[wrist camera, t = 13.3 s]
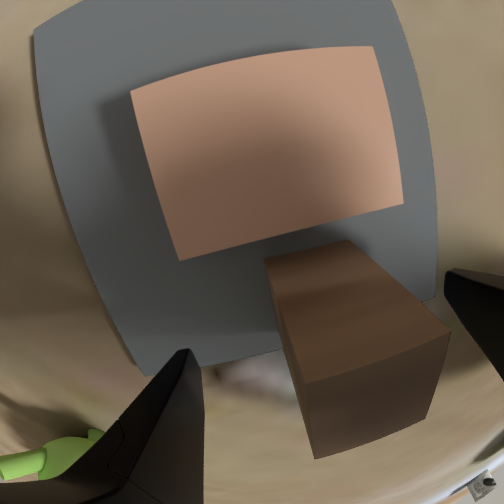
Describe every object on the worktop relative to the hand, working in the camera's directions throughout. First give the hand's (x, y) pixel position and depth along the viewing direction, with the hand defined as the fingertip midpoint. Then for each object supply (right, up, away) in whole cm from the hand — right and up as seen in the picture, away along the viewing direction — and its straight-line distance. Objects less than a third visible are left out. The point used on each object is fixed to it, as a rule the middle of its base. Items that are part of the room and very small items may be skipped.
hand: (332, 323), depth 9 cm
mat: (-3, +6, +1) cm, 6 cm away
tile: (+2, +6, -1) cm, 6 cm away
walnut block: (0, +1, +2) cm, 2 cm away
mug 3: (+52, -53, +28) cm, 80 cm away
